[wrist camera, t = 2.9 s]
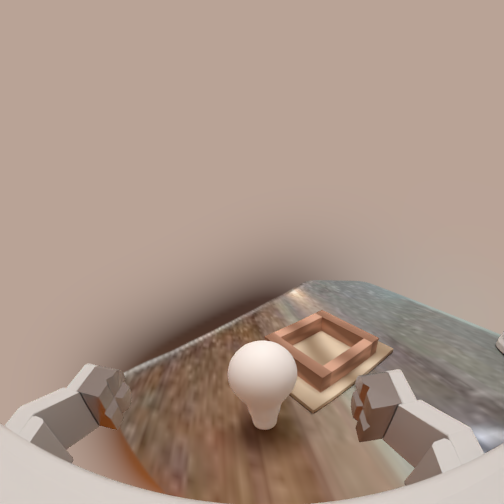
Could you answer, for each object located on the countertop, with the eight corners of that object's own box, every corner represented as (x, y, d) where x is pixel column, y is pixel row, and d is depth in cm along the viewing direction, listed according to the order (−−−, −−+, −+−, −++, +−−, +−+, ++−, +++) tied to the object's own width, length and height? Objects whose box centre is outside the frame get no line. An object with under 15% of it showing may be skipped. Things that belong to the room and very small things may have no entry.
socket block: (324, 317, 46) (325, 301, 45) (392, 351, 35) (396, 334, 34) (244, 355, 38) (243, 337, 37) (312, 413, 27) (315, 395, 26)
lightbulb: (285, 400, 29) (286, 322, 26) (301, 439, 23) (309, 362, 20) (232, 409, 28) (220, 332, 25) (241, 451, 22) (228, 376, 19)
